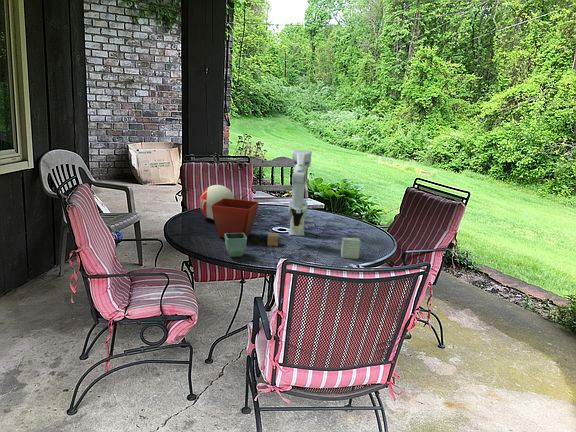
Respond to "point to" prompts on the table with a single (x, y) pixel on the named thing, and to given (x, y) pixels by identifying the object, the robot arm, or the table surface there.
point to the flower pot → (235, 243)
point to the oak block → (297, 226)
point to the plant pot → (234, 216)
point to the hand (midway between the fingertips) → (296, 224)
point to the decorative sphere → (213, 198)
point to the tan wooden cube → (272, 239)
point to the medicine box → (350, 248)
